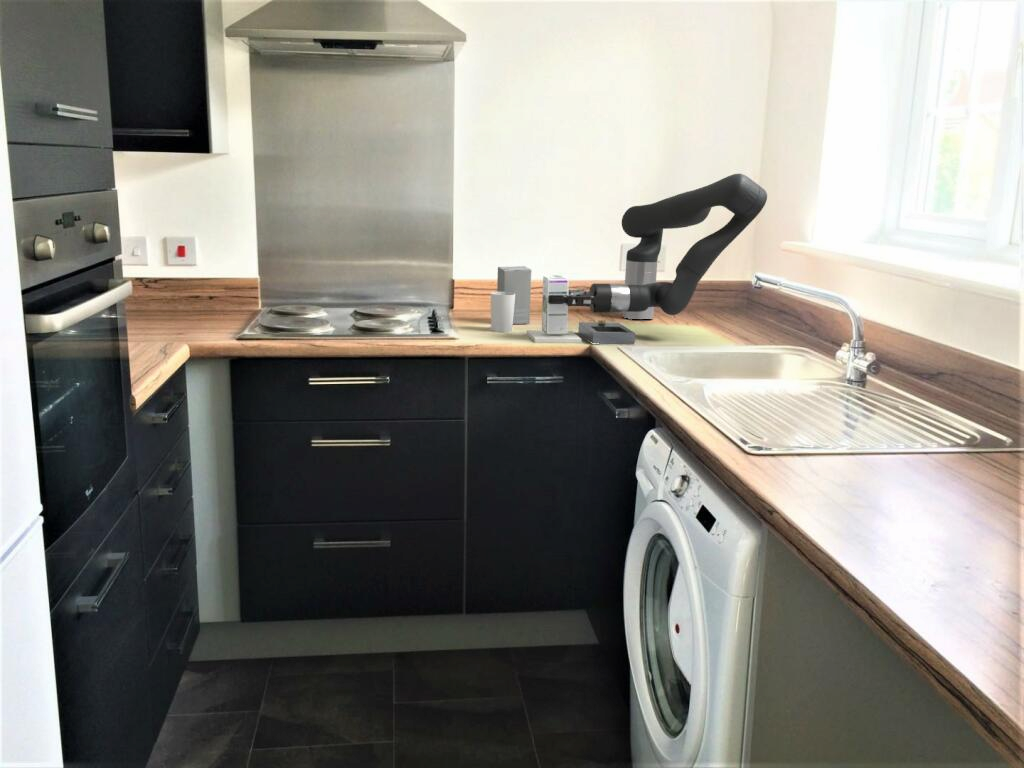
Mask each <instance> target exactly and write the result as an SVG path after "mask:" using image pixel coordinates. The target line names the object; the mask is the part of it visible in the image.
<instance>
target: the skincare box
mask: <svg viewBox="0 0 1024 768" xmlns="http://www.w3.org/2000/svg"><path fill="white" fill-rule="evenodd" d="M532 272H533V271H532V268H529V267H527V266H525V265H522V266H521V265H520V266H497V282H496V283H497V284H496V285H497V286H496V288H497V289H496V290H497V291H496V292H511V293H515V304H514V316H513V325H524V324H525V325H527V324H530V322H531V294H532V293H531V291H532V290H531V289H532Z"/></svg>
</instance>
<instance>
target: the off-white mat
mask: <svg viewBox="0 0 1024 768" xmlns="http://www.w3.org/2000/svg"><path fill="white" fill-rule="evenodd" d="M526 335H527V336H528V338H530V339H531V340H532V341H533V342H534V343H536V344H537V343H540V344H541V343H542V344H543V343H546V344H548V343H549V344H553V343H554V344H557V343H558V344H560V343H561V344H562V343H563V344H565V343H567V344H581V343H582V338H581V337H580V336H579V335H578V334H576V333H575V332H573V331H572V330H567V334H547V333H545V332H544V331H543V330H542V329H537V330H536V329H526Z"/></svg>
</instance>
